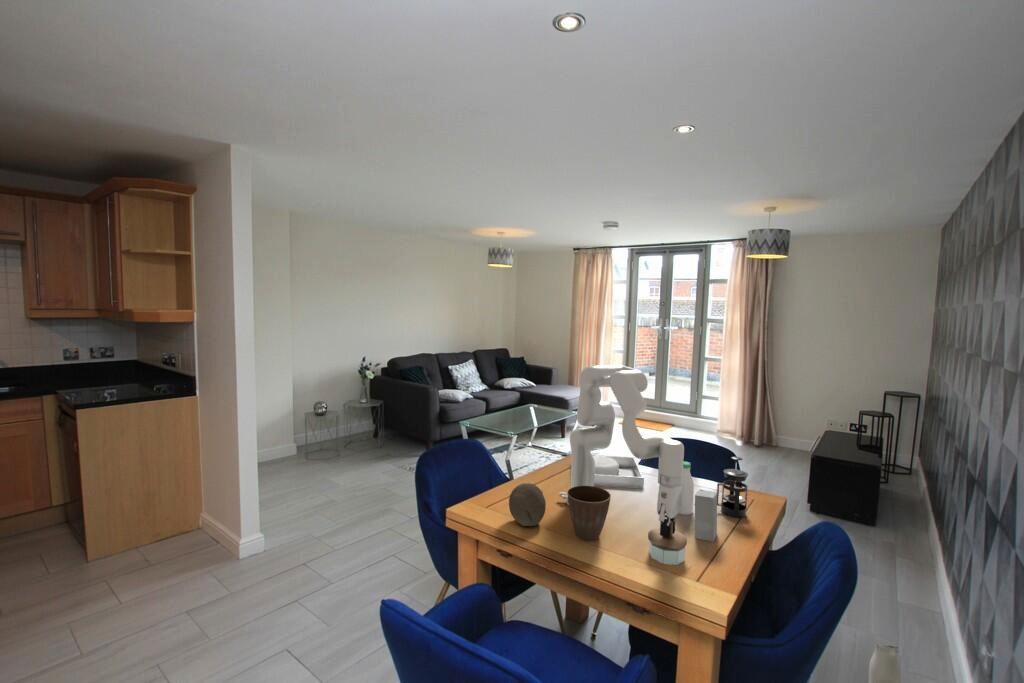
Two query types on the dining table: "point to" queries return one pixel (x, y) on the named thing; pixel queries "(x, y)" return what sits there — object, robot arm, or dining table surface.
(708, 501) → the skincare box
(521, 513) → the grey stone egg
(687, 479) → the milk bottle
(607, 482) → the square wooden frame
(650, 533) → the lid
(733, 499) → the french press
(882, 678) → the glass bottle
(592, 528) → the plant pot
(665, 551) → the bowl
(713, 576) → the dining table surface
